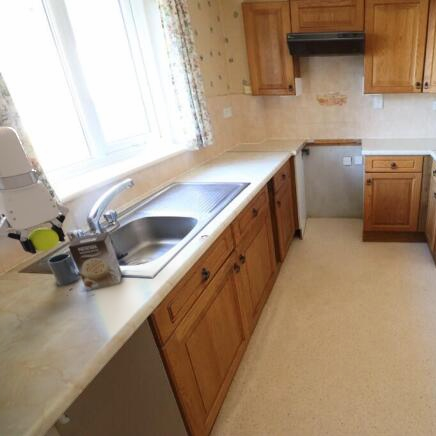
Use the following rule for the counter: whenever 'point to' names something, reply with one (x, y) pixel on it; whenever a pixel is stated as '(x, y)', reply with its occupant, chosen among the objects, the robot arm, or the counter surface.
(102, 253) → the coffee box
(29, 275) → the counter surface
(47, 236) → the ball
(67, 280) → the tumbler
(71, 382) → the counter surface
